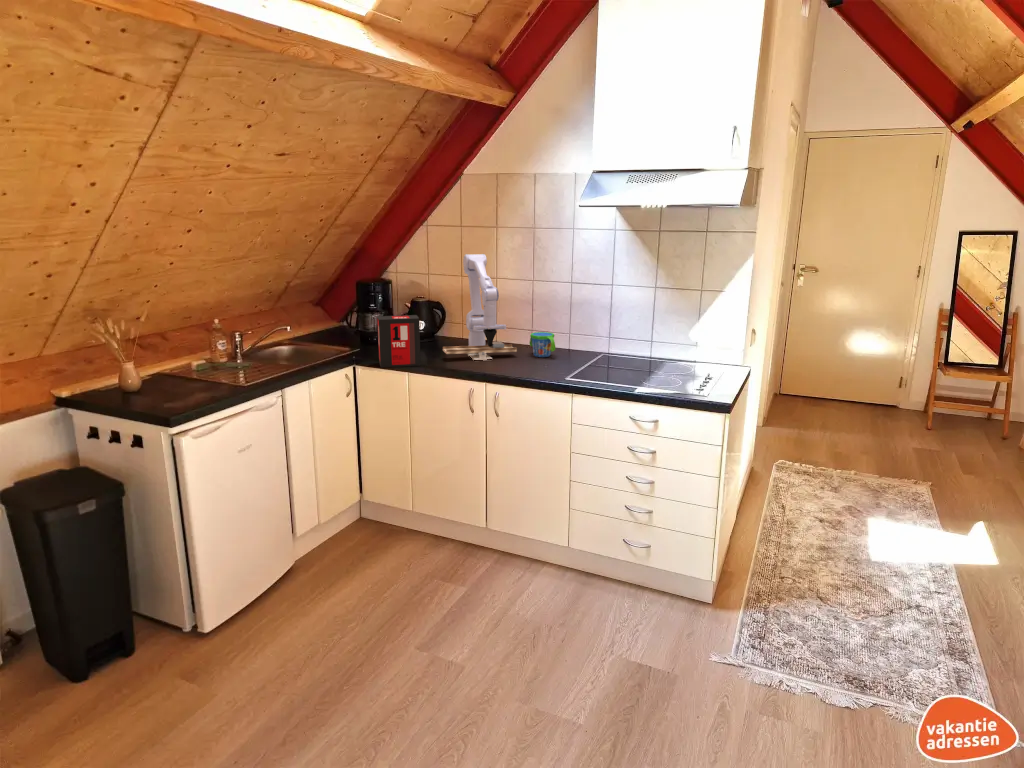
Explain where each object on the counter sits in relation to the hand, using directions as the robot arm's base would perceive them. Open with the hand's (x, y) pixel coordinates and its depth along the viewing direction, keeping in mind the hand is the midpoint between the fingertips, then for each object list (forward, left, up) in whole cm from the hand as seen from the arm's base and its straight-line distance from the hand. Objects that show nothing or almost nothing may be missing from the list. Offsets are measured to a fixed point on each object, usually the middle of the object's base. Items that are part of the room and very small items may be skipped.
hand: (489, 346), depth 295 cm
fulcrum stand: (0, -5, -5) cm, 7 cm away
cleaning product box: (+2, -41, -5) cm, 41 cm away
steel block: (0, +3, -1) cm, 4 cm away
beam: (0, -5, -2) cm, 5 cm away
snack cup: (+4, +23, -5) cm, 24 cm away
